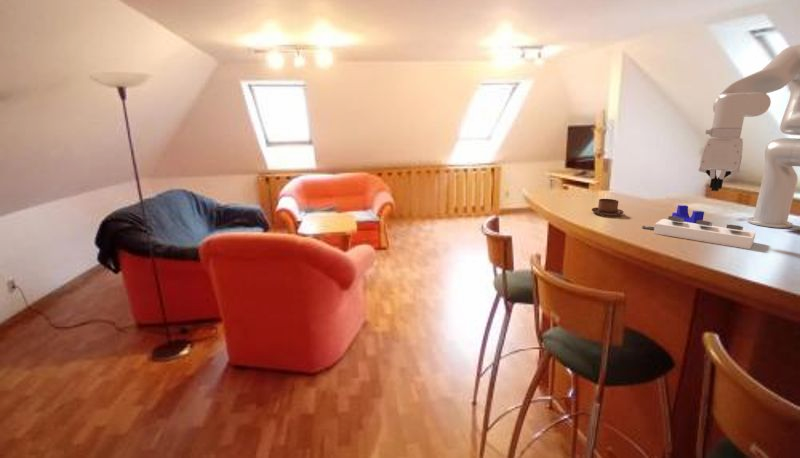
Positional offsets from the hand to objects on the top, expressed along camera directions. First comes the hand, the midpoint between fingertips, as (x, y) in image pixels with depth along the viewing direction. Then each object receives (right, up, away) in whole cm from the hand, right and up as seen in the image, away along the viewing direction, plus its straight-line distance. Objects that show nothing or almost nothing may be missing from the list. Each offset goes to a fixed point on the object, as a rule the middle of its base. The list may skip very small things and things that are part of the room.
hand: (715, 190), depth 134 cm
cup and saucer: (-17, -7, +36) cm, 41 cm away
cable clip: (+5, -11, +21) cm, 24 cm away
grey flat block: (-9, -9, +6) cm, 14 cm away
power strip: (-5, -15, +4) cm, 16 cm away
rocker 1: (-3, -11, +1) cm, 11 cm away
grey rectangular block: (+3, -12, -5) cm, 13 cm away
